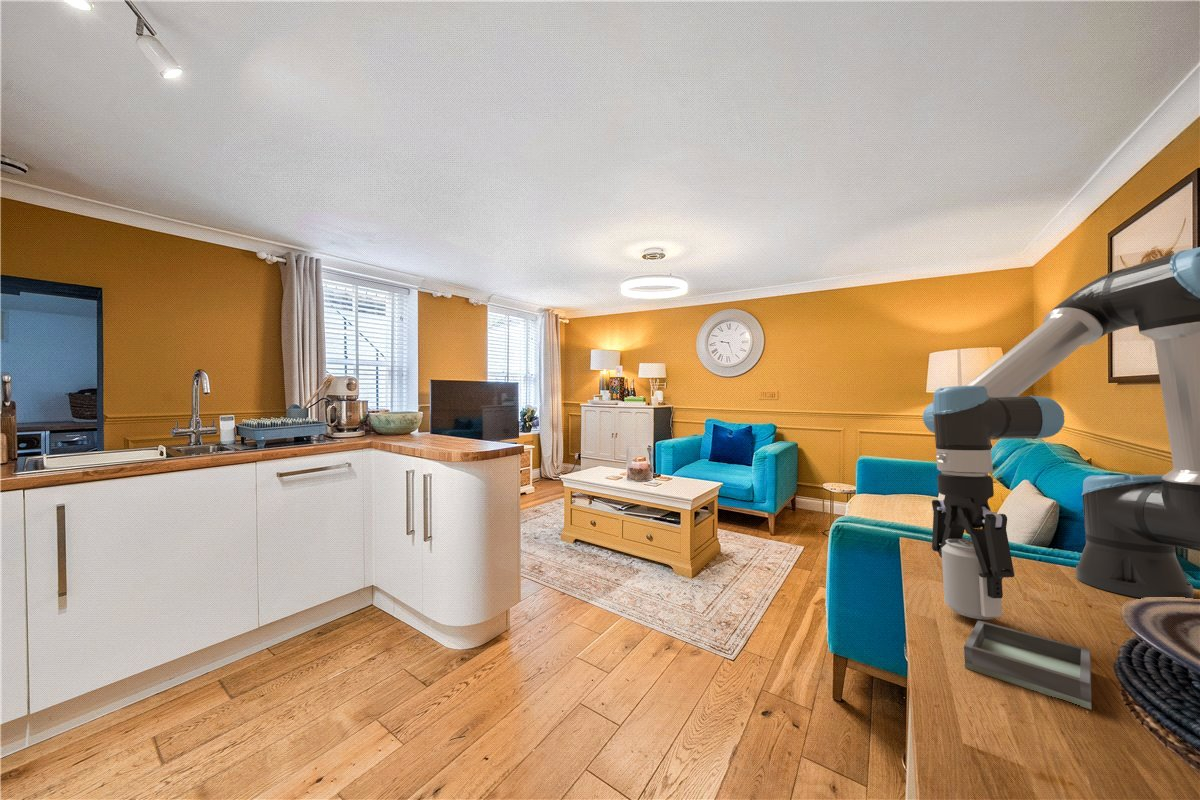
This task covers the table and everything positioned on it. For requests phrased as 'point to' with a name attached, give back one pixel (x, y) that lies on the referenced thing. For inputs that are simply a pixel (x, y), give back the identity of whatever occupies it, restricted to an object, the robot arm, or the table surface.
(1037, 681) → the tray
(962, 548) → the can
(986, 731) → the table surface
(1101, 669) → the table surface
